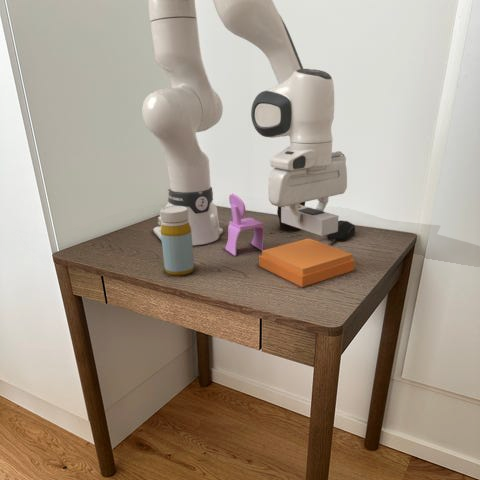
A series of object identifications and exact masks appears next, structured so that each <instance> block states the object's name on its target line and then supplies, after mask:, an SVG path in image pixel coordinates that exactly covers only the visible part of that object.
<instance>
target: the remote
mask: <svg viewBox="0 0 480 480" xmlns="http://www.w3.org/2000/svg"><path fill="white" fill-rule="evenodd" d="M298 210H299V212H300V214H303V221H302V222H299V223H296V222H294V221H293V213H292V212H291V210H290V208H289V206H285V207H281V222H282V223H285V224H288V225H291V226H294V227H297V228H300V229H301V230H303V231H305V232H309V233H311V234H314V235H316V236H317V235H318V236H321V237H323V236H328V234H331V233H335V232H338V221H339V215H337V214H334V213H330V212H326V211H325V210H324V211H320V210H317V208H312V207H309V206H306V205H305V206H302V205H300V208H298Z"/></svg>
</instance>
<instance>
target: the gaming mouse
mask: <svg viewBox="0 0 480 480" xmlns="http://www.w3.org/2000/svg"><path fill="white" fill-rule="evenodd" d="M355 233H356V226H355V224H353V223H352V222H350V221H348V220H341V219H340V220H338V232H335V233H331V234H327V239H328V240H331V243H330V246H332V245H333V244H334V243H335V242H339V241H340V242H345V241H347V240H348V239H349V238H350V237H352V236H353V235H355Z"/></svg>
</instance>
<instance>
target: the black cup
mask: <svg viewBox="0 0 480 480" xmlns="http://www.w3.org/2000/svg"><path fill="white" fill-rule="evenodd" d="M300 205H302V206H306V202H302V203H300ZM287 206H289V205H287ZM283 207H285V206H283ZM276 211H277V212H276V213H277V214H276V215H277V218H278V221H279V229H280V230H281V231H283V232H287V233H288V232H290V233H291V232H299V231H300V230H302V229H300V228H297V227H294V226H291V225H288V224H285V223H282V222H281V207H278V206H277V210H276Z"/></svg>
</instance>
